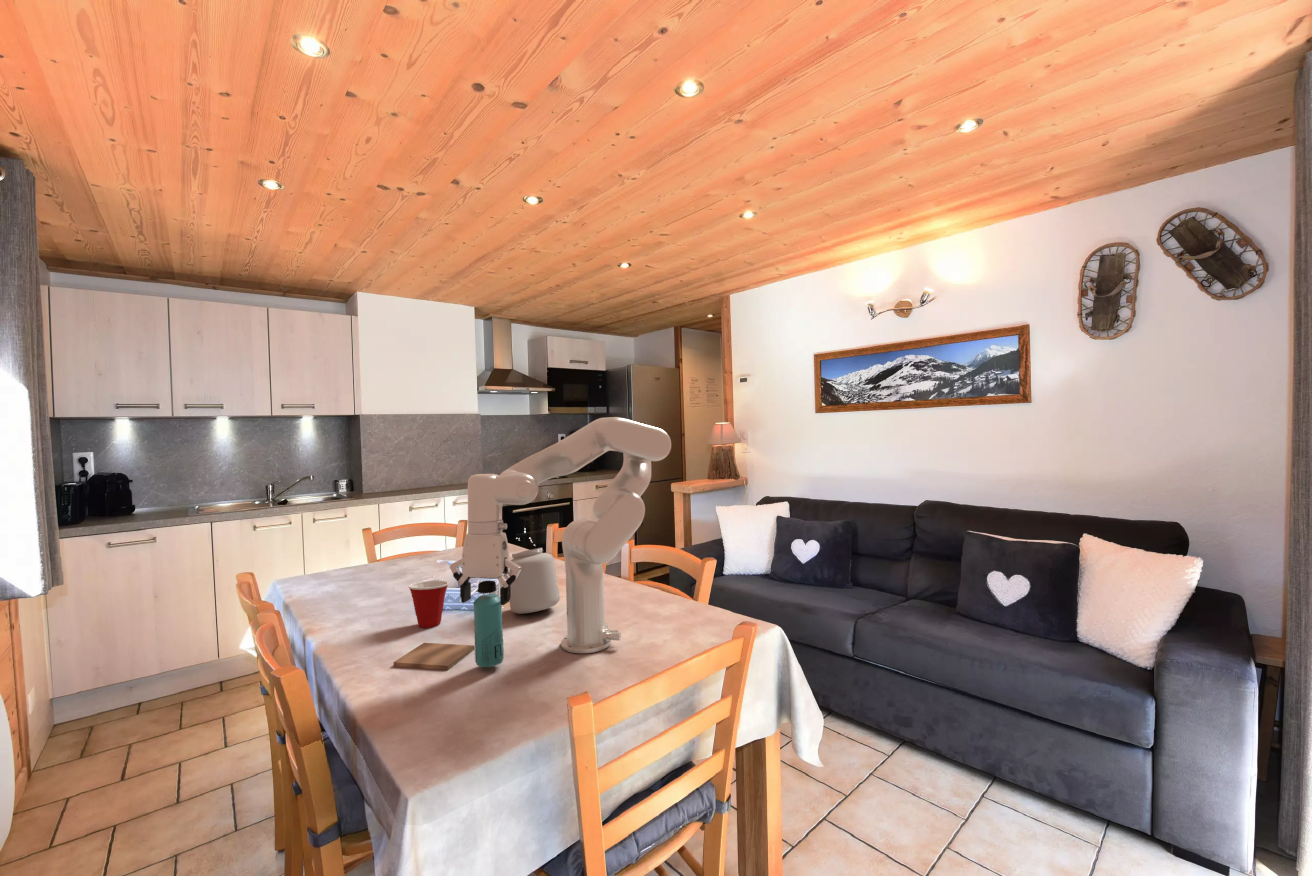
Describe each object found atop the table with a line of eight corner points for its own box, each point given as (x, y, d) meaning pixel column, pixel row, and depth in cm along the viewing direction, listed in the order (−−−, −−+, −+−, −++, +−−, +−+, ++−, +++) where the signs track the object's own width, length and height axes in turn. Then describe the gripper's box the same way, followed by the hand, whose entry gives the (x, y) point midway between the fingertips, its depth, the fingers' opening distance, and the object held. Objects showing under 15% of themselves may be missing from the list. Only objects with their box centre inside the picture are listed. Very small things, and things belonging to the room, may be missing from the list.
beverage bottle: (496, 675, 125) (493, 586, 125) (469, 673, 126) (466, 585, 126) (509, 662, 131) (507, 578, 131) (483, 661, 133) (481, 577, 132)
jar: (491, 612, 169) (488, 529, 168) (528, 599, 181) (527, 522, 180) (532, 624, 157) (530, 535, 157) (570, 609, 169) (568, 527, 169)
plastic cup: (456, 618, 164) (455, 577, 163) (439, 631, 153) (437, 588, 153) (421, 617, 165) (420, 577, 164) (401, 631, 154) (400, 587, 154)
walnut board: (474, 649, 140) (474, 645, 140) (448, 670, 128) (447, 665, 128) (424, 646, 143) (423, 642, 143) (393, 666, 131) (393, 662, 131)
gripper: (527, 526, 130) (527, 599, 130) (459, 524, 133) (459, 595, 134) (513, 531, 123) (513, 609, 123) (441, 529, 126) (441, 605, 126)
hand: (485, 602), depth 128 cm, fingers open, 9 cm apart
